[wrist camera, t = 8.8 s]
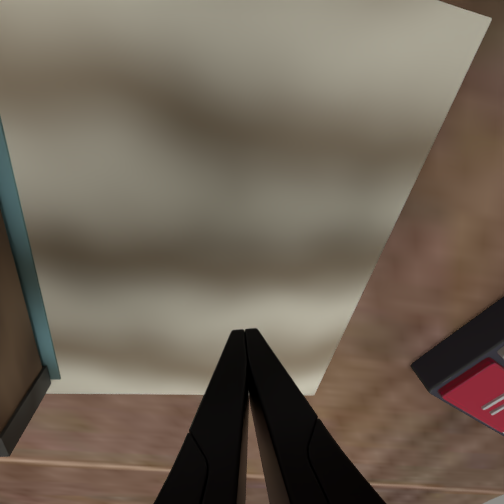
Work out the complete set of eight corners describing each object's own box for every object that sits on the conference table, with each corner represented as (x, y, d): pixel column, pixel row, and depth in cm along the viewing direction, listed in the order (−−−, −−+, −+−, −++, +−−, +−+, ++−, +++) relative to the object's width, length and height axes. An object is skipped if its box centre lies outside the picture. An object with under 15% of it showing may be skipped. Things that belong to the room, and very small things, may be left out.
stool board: (-253, -178, 8) (-451, -294, 5) (442, 32, 12) (495, 17, 10) (-23, 357, 18) (-57, 394, 16) (304, 366, 22) (314, 396, 20)
